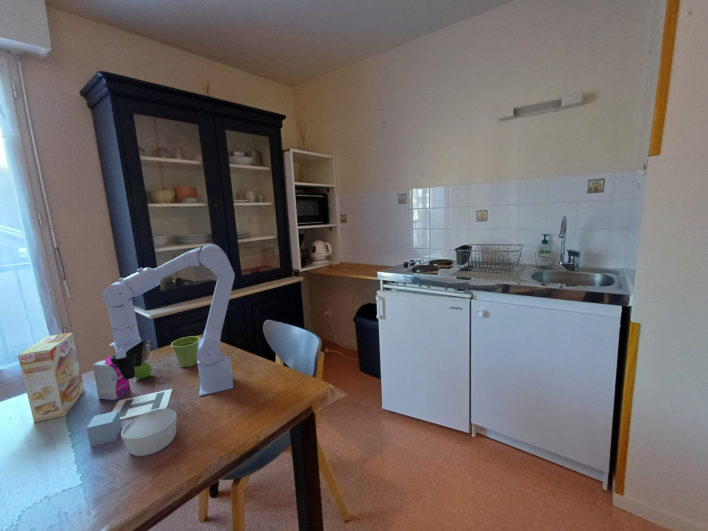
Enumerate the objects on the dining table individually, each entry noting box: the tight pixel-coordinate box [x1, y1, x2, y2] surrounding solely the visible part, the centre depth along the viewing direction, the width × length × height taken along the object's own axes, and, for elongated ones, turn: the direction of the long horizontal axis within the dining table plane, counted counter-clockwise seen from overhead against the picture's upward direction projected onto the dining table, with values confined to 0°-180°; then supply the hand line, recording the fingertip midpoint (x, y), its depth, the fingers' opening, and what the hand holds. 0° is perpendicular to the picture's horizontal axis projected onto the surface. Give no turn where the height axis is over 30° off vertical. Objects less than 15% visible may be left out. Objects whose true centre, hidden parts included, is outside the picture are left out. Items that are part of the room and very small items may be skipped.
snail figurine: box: [134, 340, 153, 380], centre depth 107 cm, size 5×6×12 cm
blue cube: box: [86, 411, 123, 448], centre depth 78 cm, size 5×5×5 cm
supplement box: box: [92, 355, 132, 402], centre depth 97 cm, size 6×6×12 cm
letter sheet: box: [111, 388, 173, 421], centre depth 92 cm, size 14×11×1 cm
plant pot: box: [170, 335, 201, 368], centre depth 116 cm, size 9×9×9 cm
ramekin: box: [120, 408, 178, 457], centre depth 76 cm, size 11×11×5 cm
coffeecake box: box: [17, 332, 86, 423], centre depth 92 cm, size 15×7×20 cm, turn 23°
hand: (133, 372), depth 90 cm, fingers open, 7 cm apart
